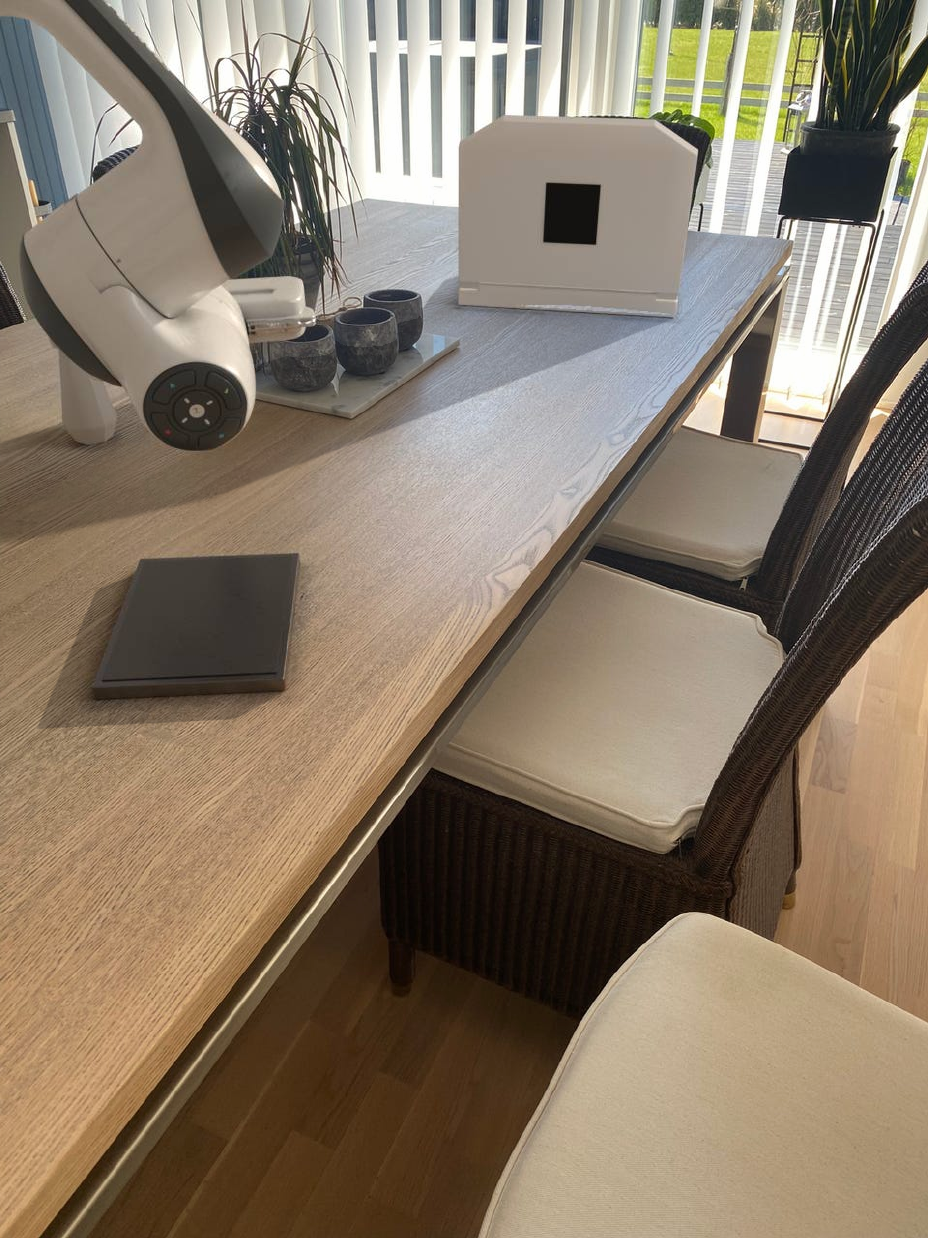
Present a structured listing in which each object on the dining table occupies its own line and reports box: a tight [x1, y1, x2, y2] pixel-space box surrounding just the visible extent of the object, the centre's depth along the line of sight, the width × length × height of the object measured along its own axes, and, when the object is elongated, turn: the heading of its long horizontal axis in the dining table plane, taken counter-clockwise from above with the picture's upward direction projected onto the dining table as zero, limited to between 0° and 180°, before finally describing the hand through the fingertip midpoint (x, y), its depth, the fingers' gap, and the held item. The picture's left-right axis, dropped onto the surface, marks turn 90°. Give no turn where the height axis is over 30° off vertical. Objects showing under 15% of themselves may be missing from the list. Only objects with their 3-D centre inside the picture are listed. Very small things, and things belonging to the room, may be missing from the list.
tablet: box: [91, 552, 301, 700], centre depth 77 cm, size 14×18×1 cm
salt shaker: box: [48, 336, 118, 446], centre depth 104 cm, size 6×6×13 cm
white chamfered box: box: [458, 114, 699, 318], centre depth 147 cm, size 33×24×26 cm
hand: (188, 286), depth 88 cm, fingers closed on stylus, 3 cm apart
